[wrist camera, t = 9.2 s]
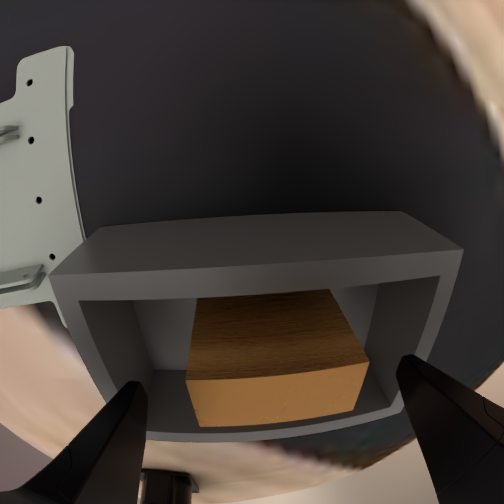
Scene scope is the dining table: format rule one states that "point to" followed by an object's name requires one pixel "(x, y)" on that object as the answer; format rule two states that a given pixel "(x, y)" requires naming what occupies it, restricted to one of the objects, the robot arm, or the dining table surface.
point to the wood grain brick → (272, 359)
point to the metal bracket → (37, 179)
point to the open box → (251, 283)
